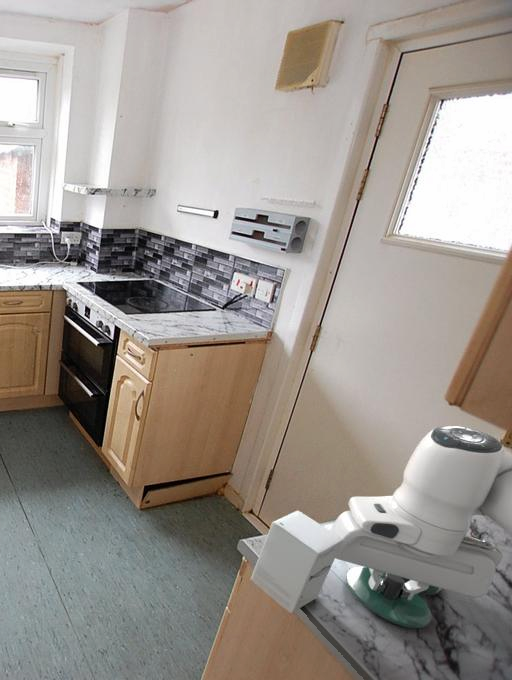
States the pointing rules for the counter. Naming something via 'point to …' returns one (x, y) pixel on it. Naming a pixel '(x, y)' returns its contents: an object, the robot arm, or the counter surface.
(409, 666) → the counter surface
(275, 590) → the white packaging box
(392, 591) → the lid
